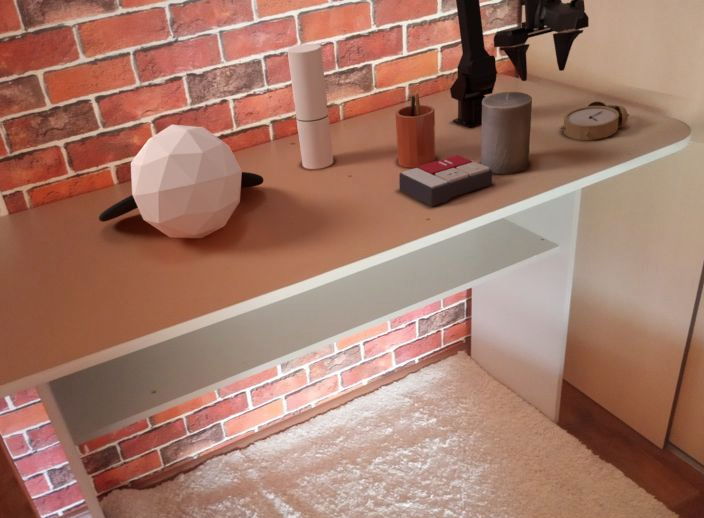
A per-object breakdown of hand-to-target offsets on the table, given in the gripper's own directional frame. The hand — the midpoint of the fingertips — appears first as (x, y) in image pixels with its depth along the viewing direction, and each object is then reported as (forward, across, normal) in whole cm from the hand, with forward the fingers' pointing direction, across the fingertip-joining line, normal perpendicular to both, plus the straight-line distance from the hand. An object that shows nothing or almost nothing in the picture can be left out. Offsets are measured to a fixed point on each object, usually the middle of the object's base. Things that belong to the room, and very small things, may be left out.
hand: (543, 75), depth 143 cm
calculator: (+16, -26, -1) cm, 30 cm away
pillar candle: (+16, -10, 0) cm, 19 cm away
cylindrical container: (+11, -40, +29) cm, 51 cm away
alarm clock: (+15, +17, +4) cm, 23 cm away
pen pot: (+13, -23, +15) cm, 30 cm away
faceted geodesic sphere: (+13, -74, +15) cm, 77 cm away
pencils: (+12, -23, +15) cm, 30 cm away
